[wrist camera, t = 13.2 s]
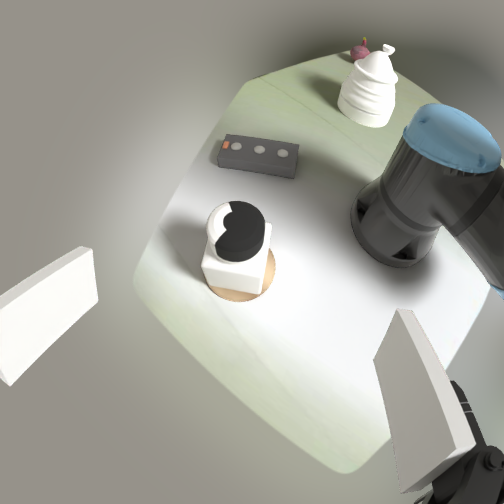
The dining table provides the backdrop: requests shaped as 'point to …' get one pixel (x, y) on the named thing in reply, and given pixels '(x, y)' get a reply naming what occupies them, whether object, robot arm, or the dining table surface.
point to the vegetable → (359, 51)
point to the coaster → (244, 296)
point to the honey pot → (370, 90)
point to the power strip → (258, 155)
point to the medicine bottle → (236, 247)
